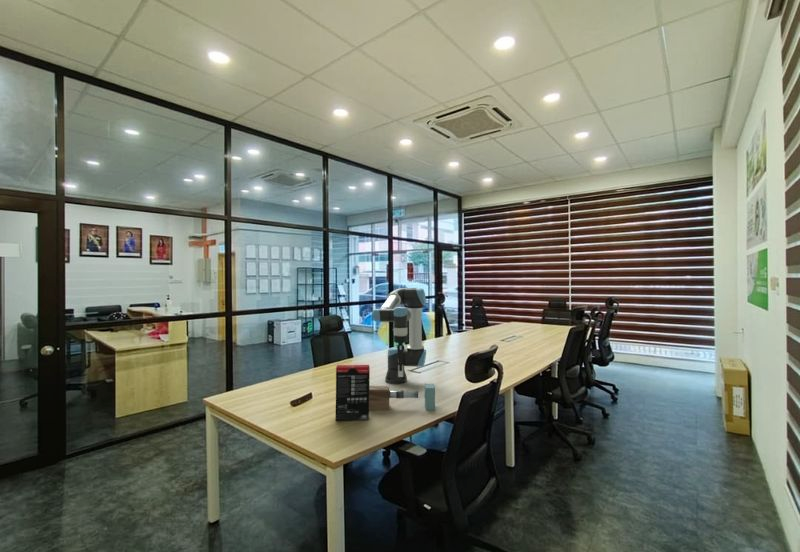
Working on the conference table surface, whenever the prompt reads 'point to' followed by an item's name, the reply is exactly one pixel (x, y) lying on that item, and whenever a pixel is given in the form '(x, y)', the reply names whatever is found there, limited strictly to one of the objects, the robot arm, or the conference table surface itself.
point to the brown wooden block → (378, 397)
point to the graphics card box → (352, 392)
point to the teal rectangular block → (429, 396)
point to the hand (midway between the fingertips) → (400, 373)
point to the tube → (403, 394)
